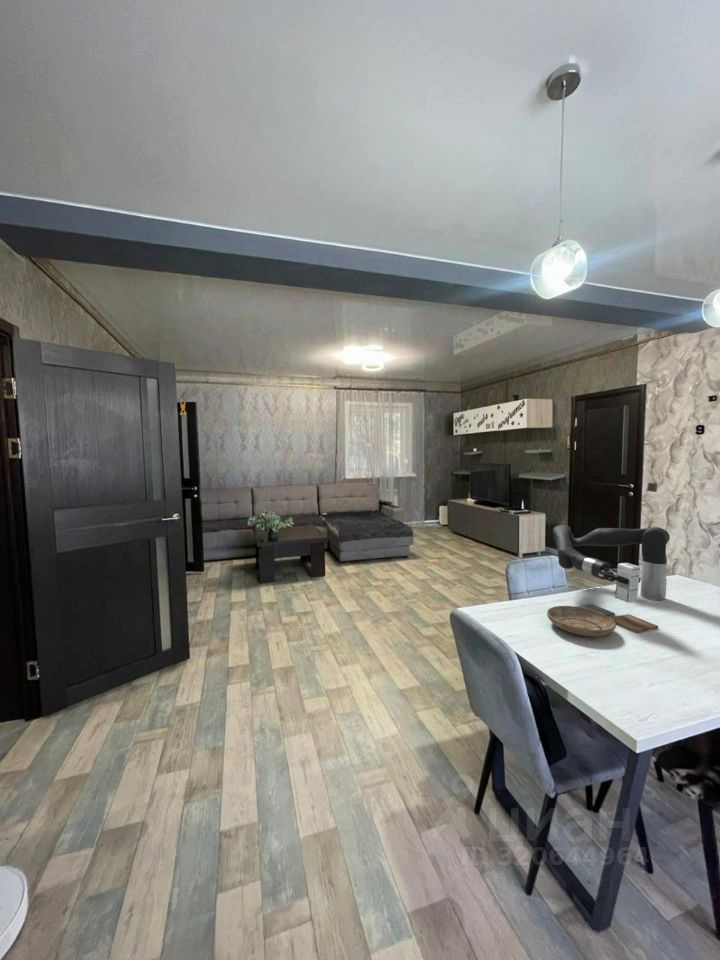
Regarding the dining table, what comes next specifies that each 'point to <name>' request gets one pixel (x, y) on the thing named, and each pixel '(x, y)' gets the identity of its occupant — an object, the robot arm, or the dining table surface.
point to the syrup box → (629, 590)
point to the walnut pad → (633, 623)
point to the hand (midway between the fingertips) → (633, 581)
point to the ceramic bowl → (581, 620)
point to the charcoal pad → (597, 609)
